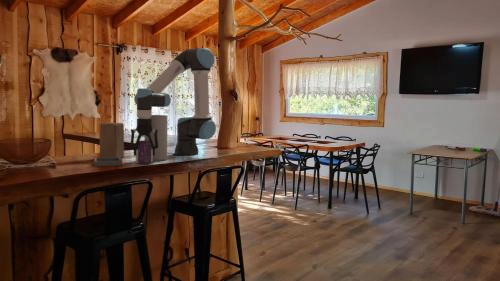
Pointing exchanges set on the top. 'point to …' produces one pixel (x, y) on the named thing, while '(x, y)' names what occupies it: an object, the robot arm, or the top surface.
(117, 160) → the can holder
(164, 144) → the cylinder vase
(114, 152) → the wooden block
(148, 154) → the beverage can
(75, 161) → the top surface
